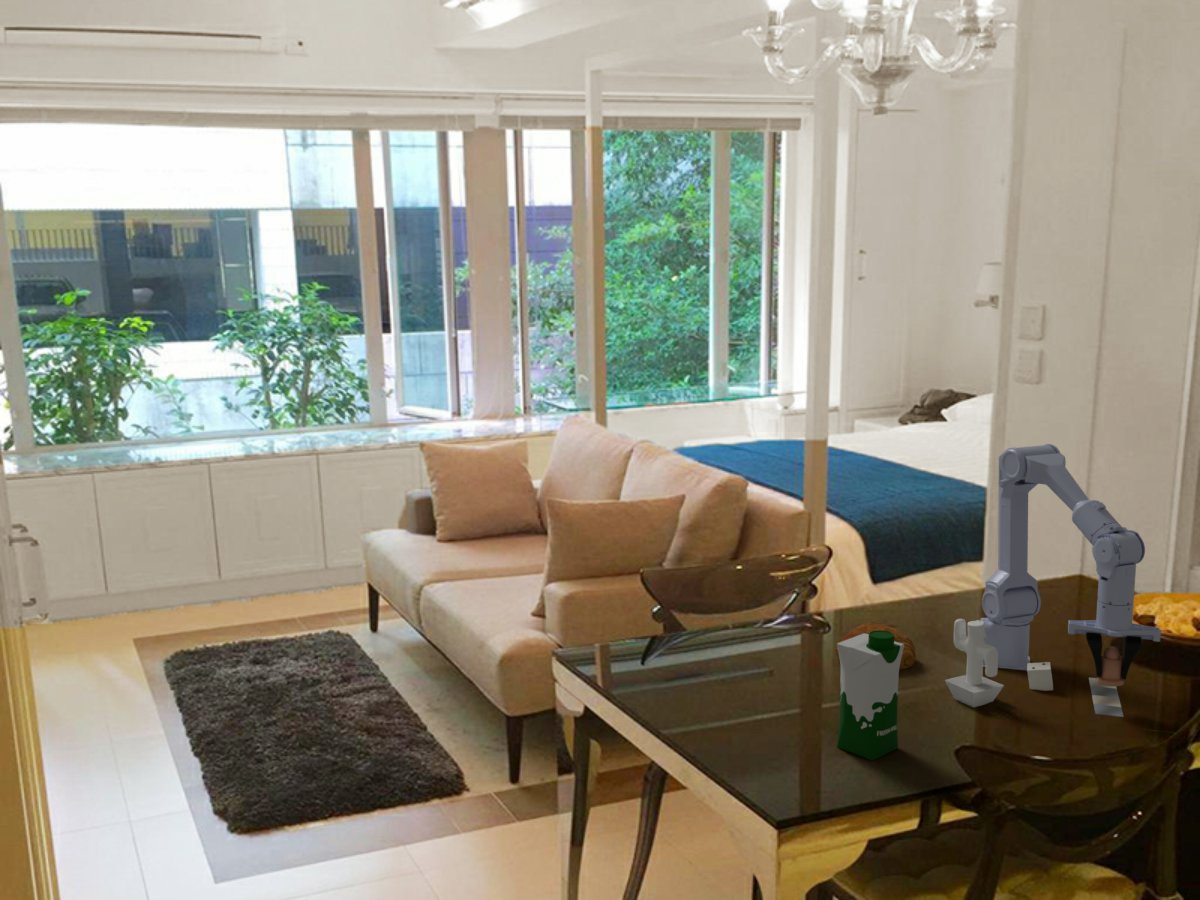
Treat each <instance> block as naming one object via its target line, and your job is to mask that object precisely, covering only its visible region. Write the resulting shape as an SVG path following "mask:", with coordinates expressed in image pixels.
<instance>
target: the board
mask: <svg viewBox="0 0 1200 900" xmlns="http://www.w3.org/2000/svg"><path fill="white" fill-rule="evenodd" d="M1088 681H1089V687H1090V691H1091V698H1092V703H1093V708H1094V714H1095V715H1099V716H1100V715H1101V716H1108V717H1109V716H1110V717H1111V716H1112V717H1119V718H1120V717H1121V718H1124V713H1123V708H1122V704H1121V701H1120V696H1119V693H1118V688H1117V686H1106V685H1103V684H1100V683H1099V682H1098V681H1097V677H1088Z"/></svg>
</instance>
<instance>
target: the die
mask: <svg viewBox="0 0 1200 900" xmlns="http://www.w3.org/2000/svg"><path fill="white" fill-rule="evenodd" d="M1051 667H1052V666H1051V661H1043V662H1041V661H1040V662H1030V663H1027V670H1026V672H1027V679H1028V685H1029V689H1030V690H1035V691H1037V690H1038V691H1045V692H1046V691H1054V681H1053V675H1052V668H1051Z"/></svg>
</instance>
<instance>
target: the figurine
mask: <svg viewBox="0 0 1200 900" xmlns="http://www.w3.org/2000/svg"><path fill="white" fill-rule="evenodd" d="M985 632H986V631H985V623H984V622H983V621H981V619H975V620H971V621H968V622H966V620H965V619H964V618H957V619H956V620H955V621H954V623H953V645H954V647H955V648H956V649H957V650H959V651H961V652H964V653H966V671H965V672H966V673H965V674H963V675H959V676H956V677H951V678H948V679H944V682H945V684H946V686H947V688H948V689H949V691H950V693H951V695H952V697H953V699H954V700H956V701H959V702H960V703H963V704H965V705H967V706H969V707H971V708H977V707H981V706H983V705H987V704H990V703H992V702H994V701H995V699H997V696H998V695H999V693H1000V692H1001V690H1003V688H1004V687H1005V685H1004V684H1002V683H999V682H997V681H994V680H992V679H989V678H994V677H996V676H997V675H998V671H999V670H998V652H997V649H996V648H995V647H993V646H991V645H988V644H985V642H984V638H986V634H985ZM983 659H984V661H985V667H983ZM984 668H985V669H984ZM983 671H984V672H985V673H983ZM983 674H985V676H986V677H985V676H984V675H983ZM987 677H988V678H987Z"/></svg>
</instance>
